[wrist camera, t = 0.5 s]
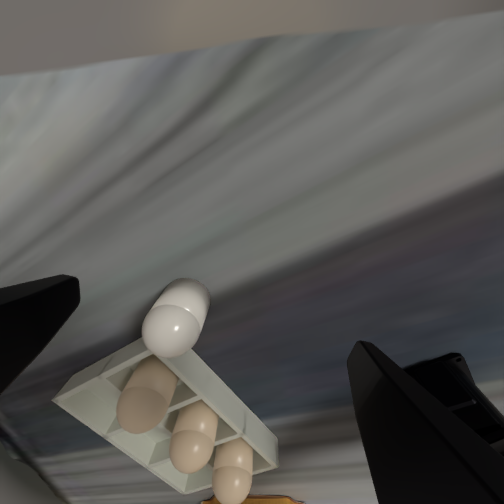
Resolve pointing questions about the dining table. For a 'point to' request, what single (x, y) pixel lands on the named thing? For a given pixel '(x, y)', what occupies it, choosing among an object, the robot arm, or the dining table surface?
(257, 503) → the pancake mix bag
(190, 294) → the egg
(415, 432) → the robot arm
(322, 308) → the dining table surface
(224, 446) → the carton
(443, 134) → the dining table surface
